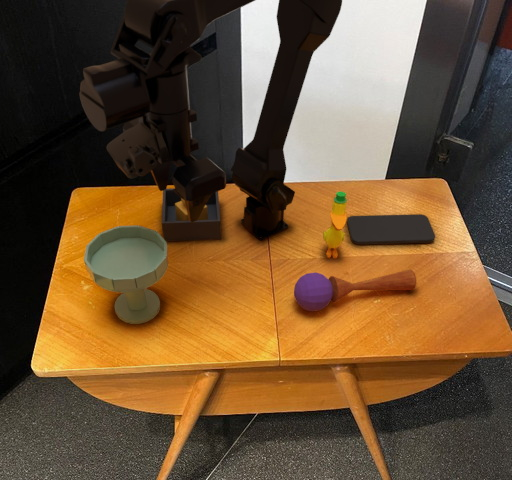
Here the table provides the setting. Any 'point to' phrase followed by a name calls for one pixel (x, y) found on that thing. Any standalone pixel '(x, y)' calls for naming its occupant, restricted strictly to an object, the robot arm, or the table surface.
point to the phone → (390, 229)
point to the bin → (186, 229)
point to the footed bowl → (129, 269)
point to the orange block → (183, 215)
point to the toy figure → (336, 224)
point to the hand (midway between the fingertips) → (177, 205)
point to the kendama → (344, 287)
